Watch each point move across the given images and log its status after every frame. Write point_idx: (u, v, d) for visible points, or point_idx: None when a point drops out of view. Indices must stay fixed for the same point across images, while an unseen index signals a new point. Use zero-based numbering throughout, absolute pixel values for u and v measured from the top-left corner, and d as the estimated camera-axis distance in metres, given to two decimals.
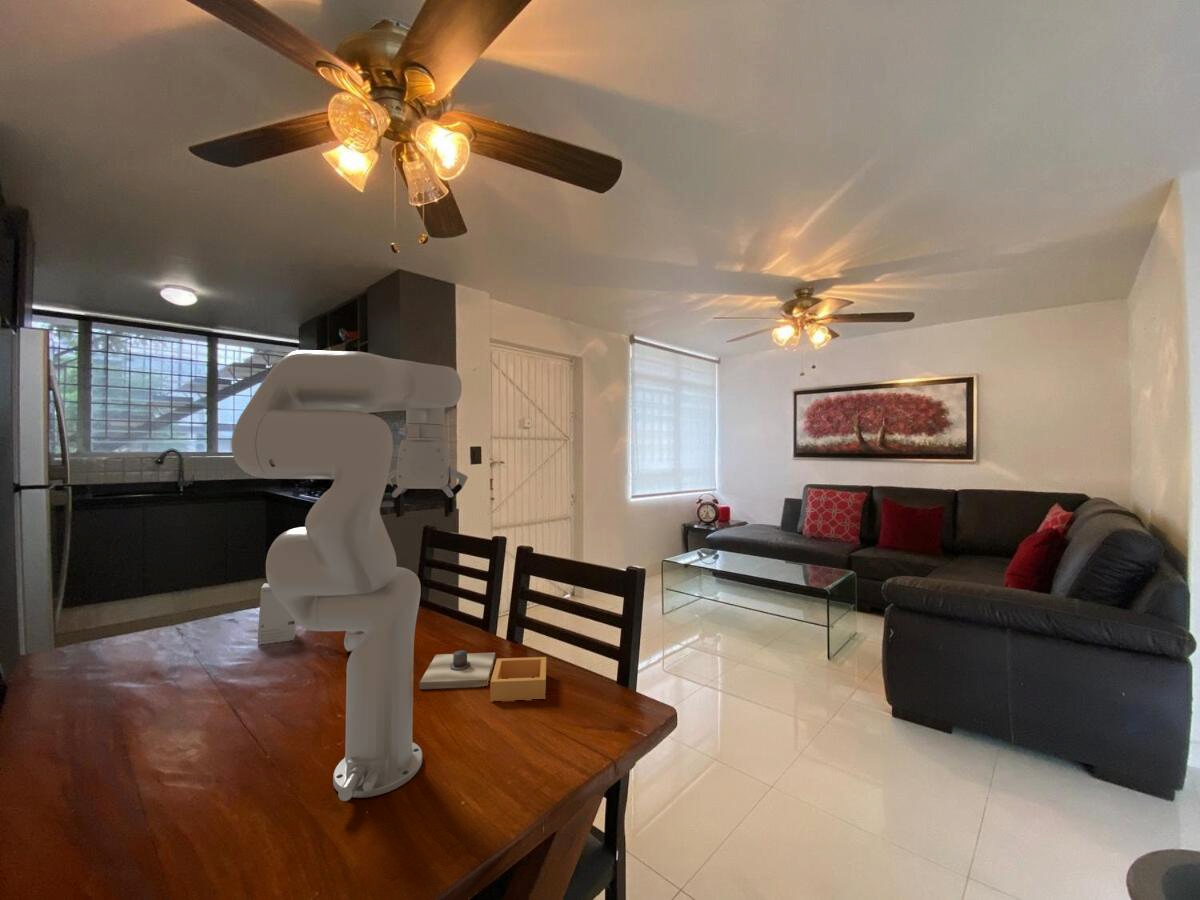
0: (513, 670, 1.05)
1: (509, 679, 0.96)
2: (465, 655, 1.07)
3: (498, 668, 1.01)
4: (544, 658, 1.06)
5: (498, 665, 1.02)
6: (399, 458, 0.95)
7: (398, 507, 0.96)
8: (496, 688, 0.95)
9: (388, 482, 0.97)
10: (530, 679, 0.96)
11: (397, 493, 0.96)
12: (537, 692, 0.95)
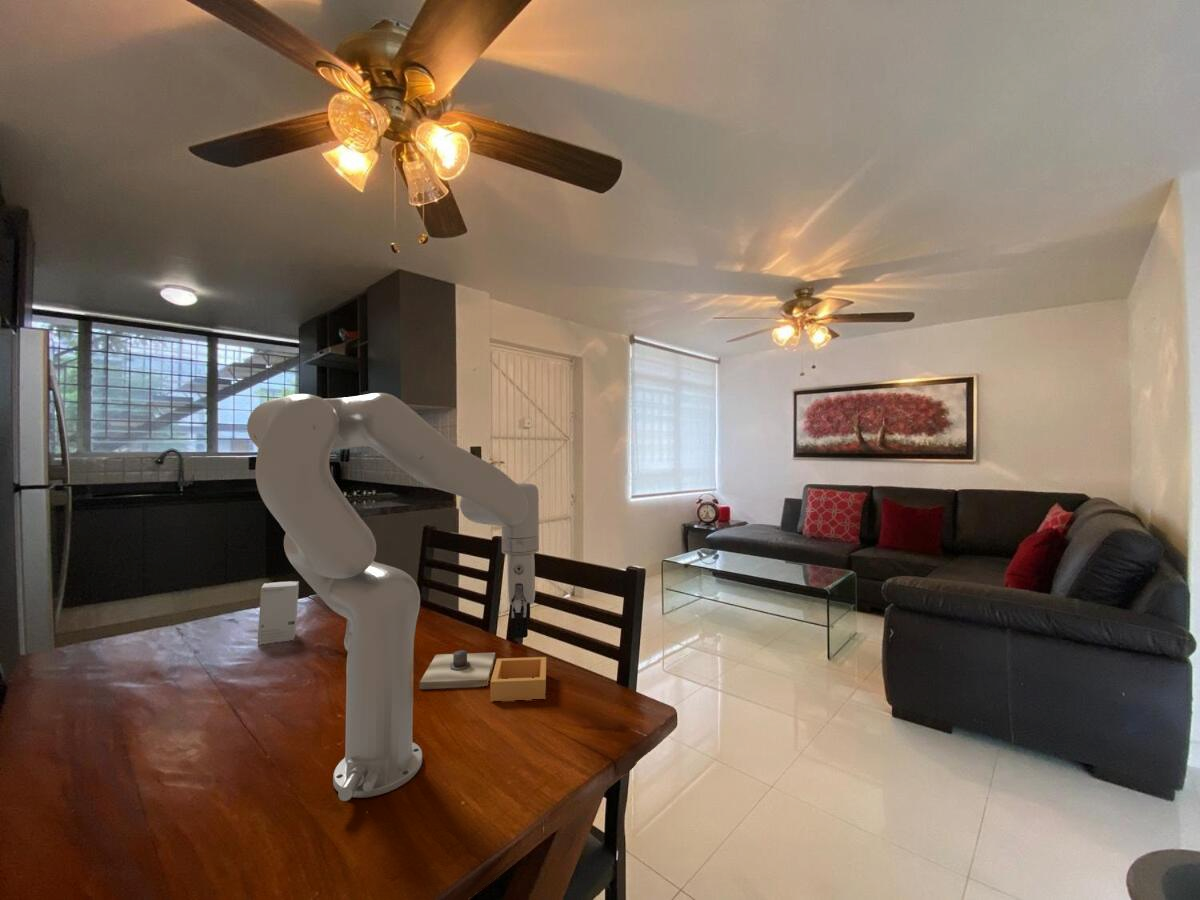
0: (513, 670, 1.05)
1: (509, 679, 0.96)
2: (465, 655, 1.07)
3: (498, 668, 1.01)
4: (544, 658, 1.06)
5: (498, 665, 1.02)
6: (531, 574, 0.92)
7: None
8: (496, 688, 0.95)
9: None
10: (530, 679, 0.96)
11: (525, 612, 0.91)
12: (537, 692, 0.95)
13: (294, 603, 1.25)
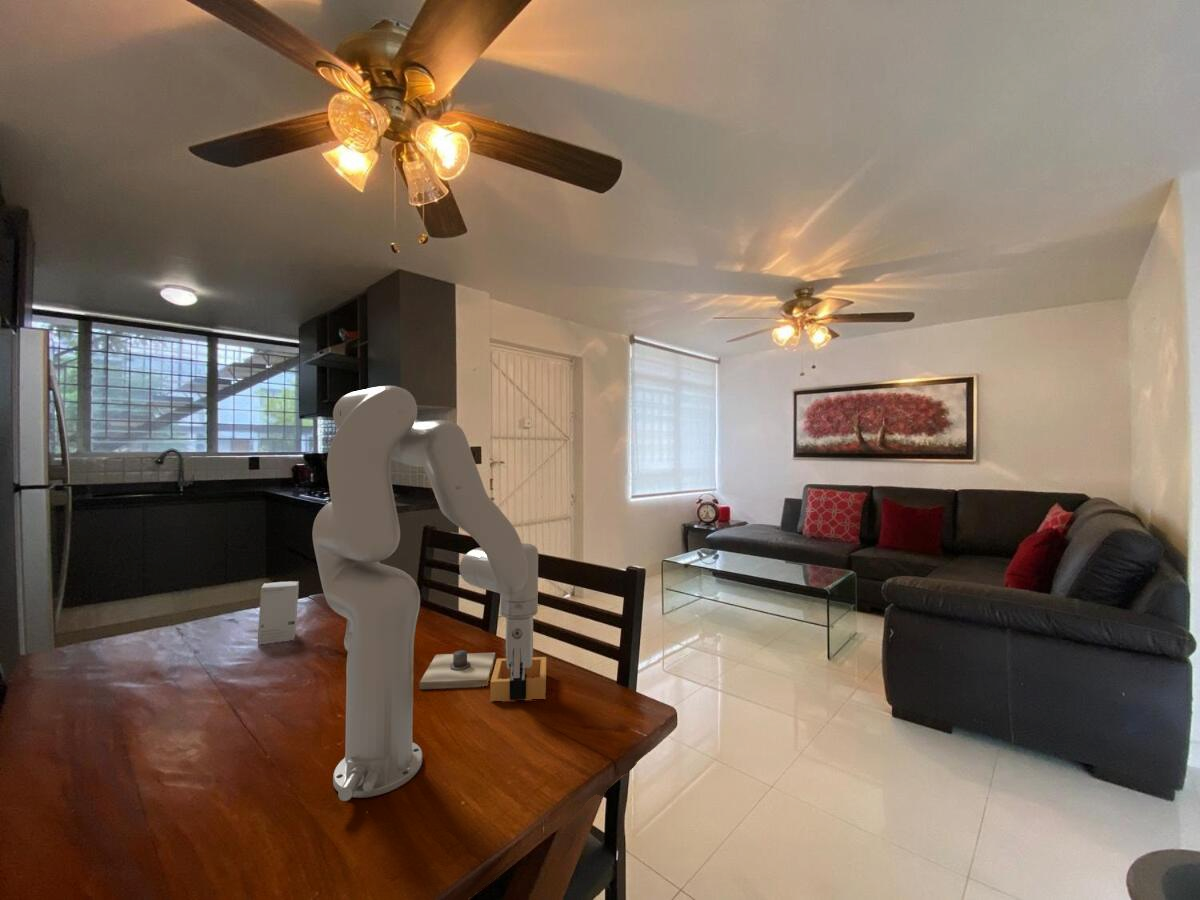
0: None
1: (509, 679, 0.96)
2: (465, 655, 1.07)
3: (498, 668, 1.01)
4: (544, 658, 1.06)
5: (498, 665, 1.02)
6: (530, 638, 0.92)
7: (525, 688, 0.95)
8: (496, 688, 0.95)
9: (519, 671, 0.92)
10: (530, 679, 0.96)
11: None
12: (537, 692, 0.95)
13: (294, 603, 1.25)
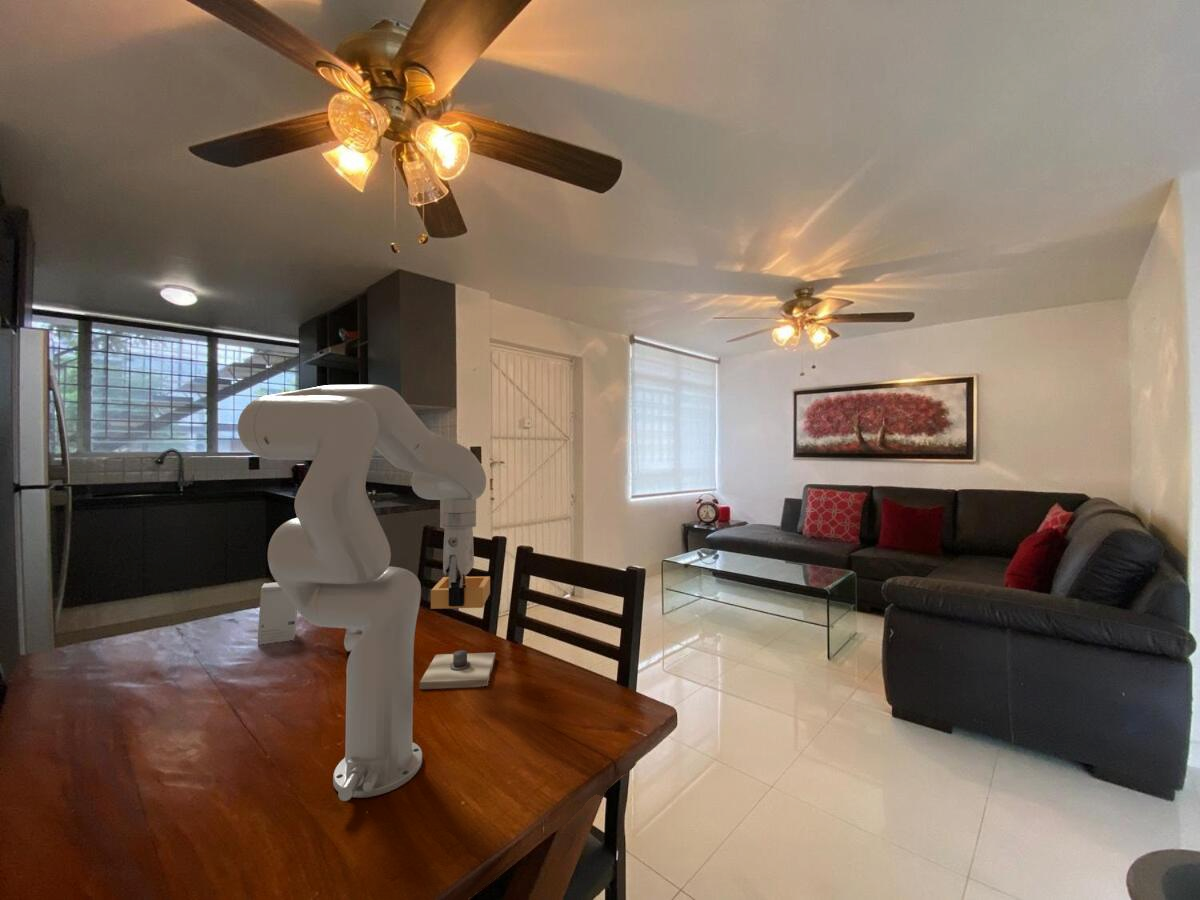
0: None
1: None
2: (465, 655, 1.07)
3: (442, 582, 1.07)
4: (487, 577, 1.13)
5: (442, 580, 1.09)
6: (465, 547, 0.99)
7: None
8: (436, 596, 1.02)
9: (456, 577, 0.99)
10: (469, 589, 1.02)
11: (462, 582, 1.01)
12: (475, 600, 1.02)
13: None
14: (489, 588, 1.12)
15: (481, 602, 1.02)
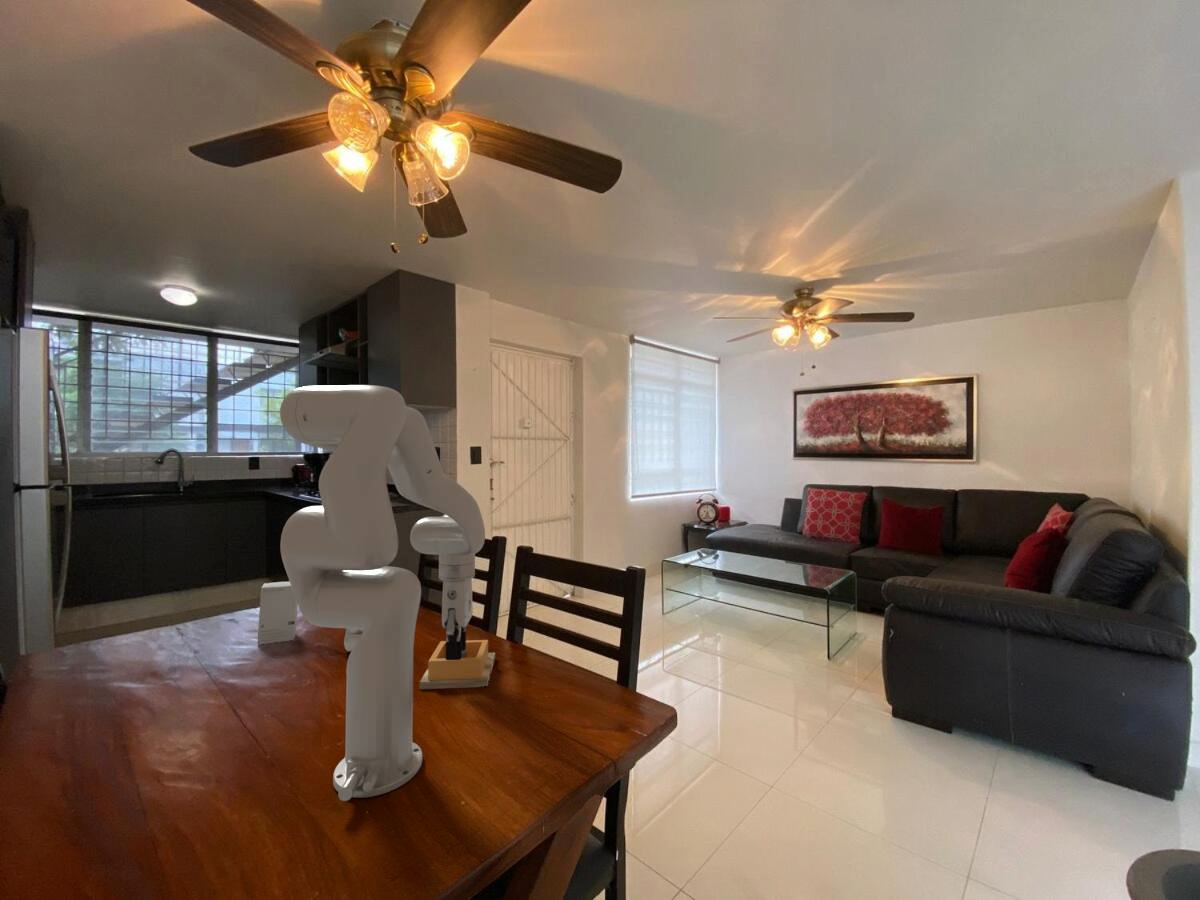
0: None
1: None
2: (465, 655, 1.07)
3: (439, 649, 1.06)
4: (485, 641, 1.12)
5: (440, 646, 1.08)
6: (464, 599, 0.98)
7: (461, 649, 1.00)
8: (434, 667, 1.01)
9: (454, 631, 0.98)
10: (467, 659, 1.01)
11: (459, 636, 1.00)
12: (473, 671, 1.01)
13: (294, 603, 1.25)
14: (487, 652, 1.12)
15: (479, 673, 1.01)
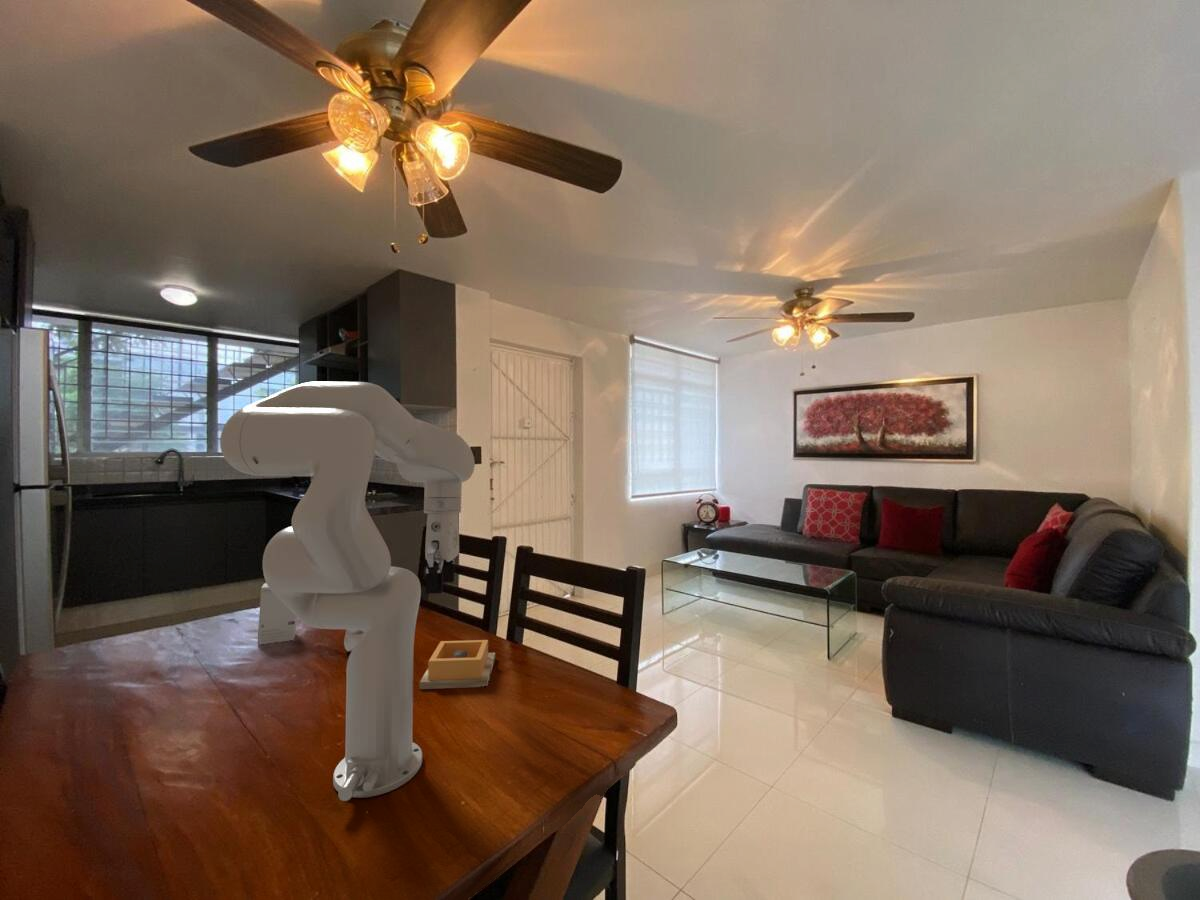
0: None
1: (446, 659, 1.01)
2: (465, 655, 1.07)
3: (439, 649, 1.06)
4: (485, 641, 1.12)
5: (440, 646, 1.08)
6: (449, 532, 0.96)
7: (442, 582, 0.95)
8: (434, 667, 1.01)
9: (434, 559, 0.93)
10: (467, 659, 1.01)
11: (441, 568, 0.95)
12: (473, 671, 1.01)
13: None
14: (487, 652, 1.12)
15: (479, 673, 1.01)
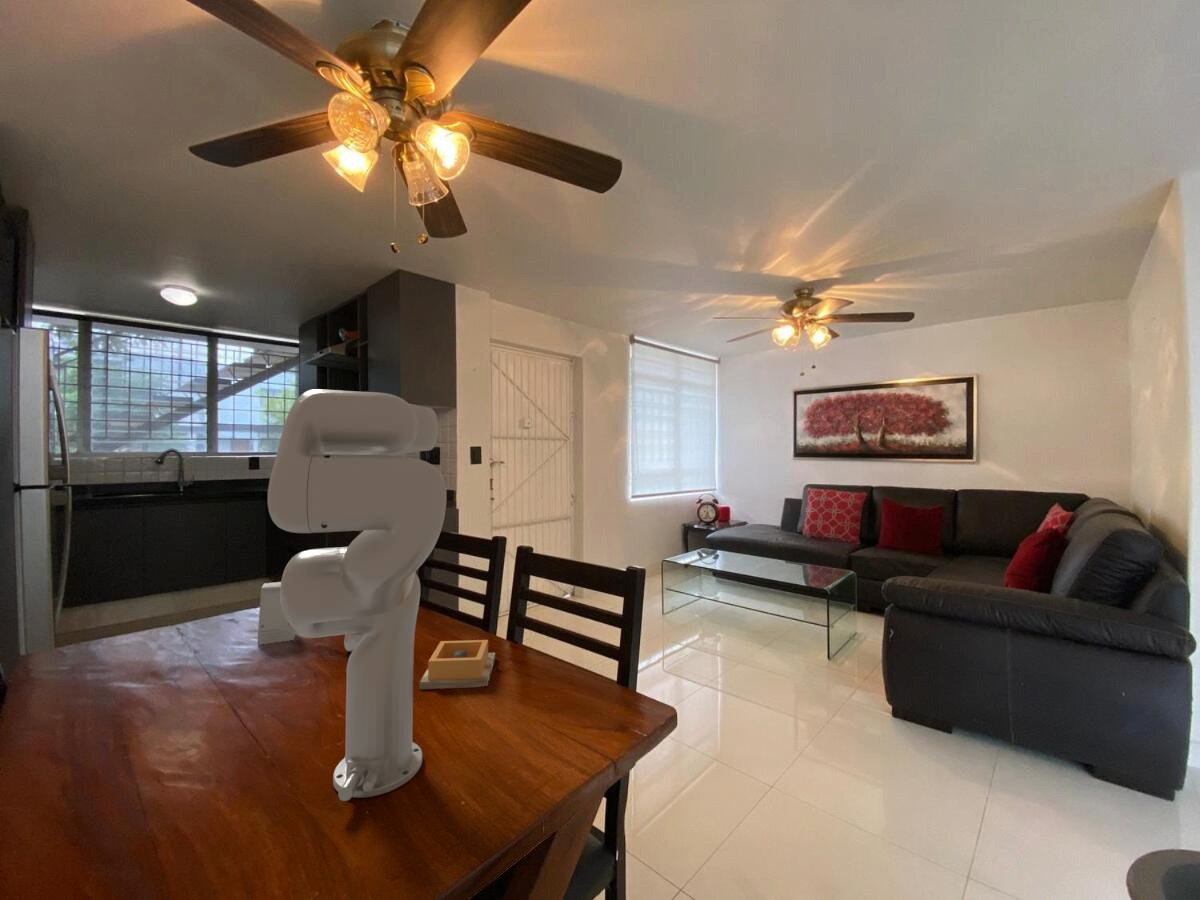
0: None
1: (446, 659, 1.01)
2: (465, 655, 1.07)
3: (439, 649, 1.06)
4: (485, 641, 1.12)
5: (440, 646, 1.08)
6: None
7: None
8: (434, 667, 1.01)
9: None
10: (467, 659, 1.01)
11: None
12: (473, 671, 1.01)
13: None
14: (487, 652, 1.12)
15: (479, 673, 1.01)
